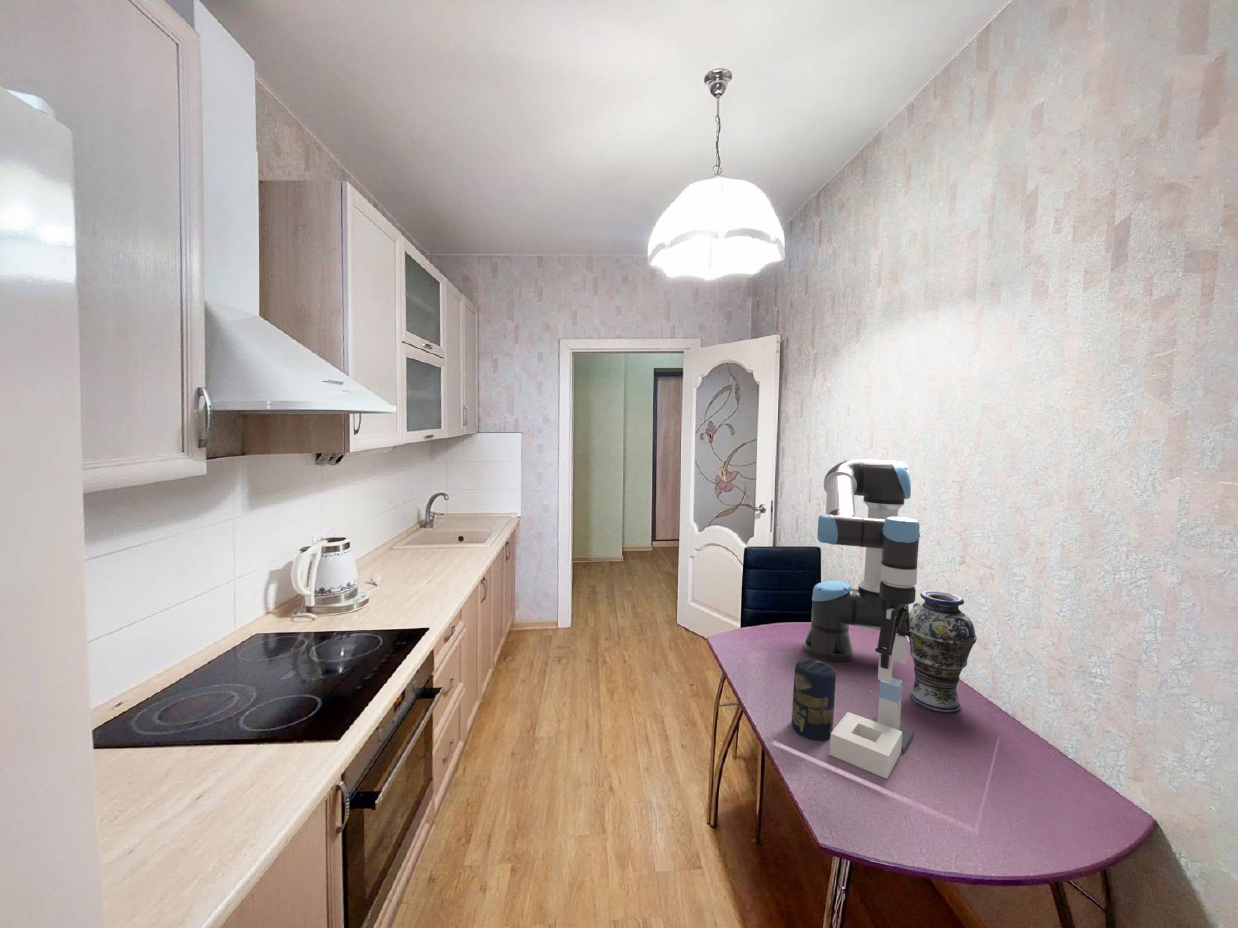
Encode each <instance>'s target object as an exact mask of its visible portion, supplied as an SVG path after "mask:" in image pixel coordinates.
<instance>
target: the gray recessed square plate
mask: <svg viewBox="0 0 1238 928" xmlns="http://www.w3.org/2000/svg"><path fill="white" fill-rule="evenodd" d="M871 720H872V721H874V722H878V717H874V716H873V717H872V718H871ZM899 731H902V746H901V754H905V752H906V750H907V748H908V747H909V745H910V743H911V741H912V739H913V737H914V730H911V729H908V728H905V727H903V726H900V729H899Z"/></svg>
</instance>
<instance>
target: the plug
mask: <svg viewBox="0 0 1238 928" xmlns="http://www.w3.org/2000/svg"><path fill="white" fill-rule="evenodd" d="M903 683H904V681H903V680H901V679H899V678H895V677H893V676H892V681H891V683H888V682H885V681H882V680H879V693H878V694H879V695H878V711H877V718H878V722H877V723H880V724H883V725H885V726H888V727H891V728H894V729H897V730H899V729H900V727H901V726H900V725H901V710H902V698H903V697H902V696H903Z"/></svg>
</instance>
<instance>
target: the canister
mask: <svg viewBox="0 0 1238 928" xmlns="http://www.w3.org/2000/svg"><path fill="white" fill-rule="evenodd" d="M793 675H794V676H793V677H794V678H793V691H792V711H791V727H792V729H793V731H794V732H795V734H798V735H799V736H801V737H803V738H805V739H807V740H811V741H816V742H817V741H818V742H819V741H820V742H823V741H826V740H830V736H831V732H832V731H833V730H834V716H835V715H834V712H835V698H836V695H835V693H836V682H837V672H836V670H835V668H833V666H831V665H829V664H828V663H826V662H824V661H821V660H817V659H808V658H807V659H800V660H799V661H797V662H796V664H795V665H794V674H793Z"/></svg>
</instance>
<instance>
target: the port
mask: <svg viewBox="0 0 1238 928" xmlns="http://www.w3.org/2000/svg"><path fill="white" fill-rule="evenodd" d="M901 746H902V731H899V730H897V729H894V728H891V727H888V726H885V725H883V724H880V723H877V722H874V721H872V719H869V718H866V717H863V716H859V715H858V714H854V713H851V712H849V711H847V712H846V713H845V715H844V716H843V717H842V719H841V720H840V721H839V722H838V724H837V725H836V726H835V727H834V728H833V731H832V732H831V736H830V738H829V755H828V756H830V757H833V758H835V759H837V760H839V761H841V762H844V763H846V764H848V765H851V766H853V767H855V768H859V769H860V770H863V771H865V772H868V773H870V774H873V775H874V776H877V777H880V779H885V780H888V778H889V776H890V775H891V773H892V771H893V769H894V767H895V766H896V764H897V762H898V760H899V758H900V756H901V754H902V752H901Z"/></svg>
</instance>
